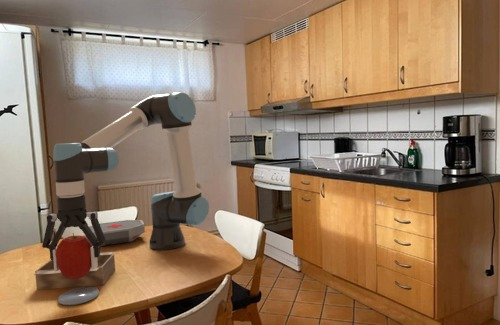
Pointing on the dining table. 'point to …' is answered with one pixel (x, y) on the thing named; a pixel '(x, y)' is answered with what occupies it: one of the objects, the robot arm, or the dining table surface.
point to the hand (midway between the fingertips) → (76, 268)
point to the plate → (78, 295)
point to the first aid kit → (121, 231)
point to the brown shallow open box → (93, 278)
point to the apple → (74, 256)
